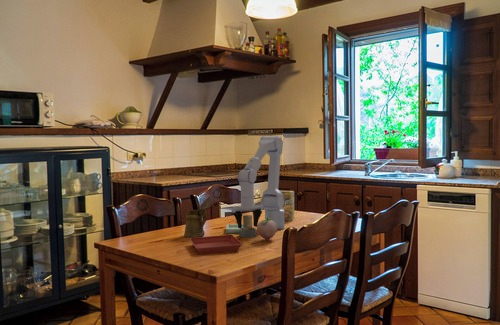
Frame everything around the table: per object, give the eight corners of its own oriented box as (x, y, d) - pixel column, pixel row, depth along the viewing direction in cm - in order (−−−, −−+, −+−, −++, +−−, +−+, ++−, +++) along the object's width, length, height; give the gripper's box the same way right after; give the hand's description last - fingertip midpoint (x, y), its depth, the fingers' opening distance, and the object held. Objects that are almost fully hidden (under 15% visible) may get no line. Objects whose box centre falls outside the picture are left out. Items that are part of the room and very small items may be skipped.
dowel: (252, 234, 205) (251, 214, 204) (252, 236, 201) (252, 216, 200) (243, 234, 205) (243, 215, 204) (243, 236, 201) (242, 216, 200)
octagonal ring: (255, 233, 206) (255, 227, 206) (256, 237, 199) (256, 230, 199) (239, 234, 206) (239, 227, 206) (239, 237, 199) (239, 230, 199)
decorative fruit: (260, 237, 199) (260, 214, 198) (278, 238, 196) (278, 215, 196) (254, 242, 190) (253, 218, 189) (273, 243, 187) (273, 219, 187)
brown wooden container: (205, 239, 196) (204, 198, 195) (180, 236, 202) (179, 196, 201) (216, 235, 203) (215, 195, 202) (192, 232, 210) (191, 194, 209)
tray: (249, 228, 220) (249, 223, 219) (249, 233, 208) (249, 229, 207) (226, 228, 219) (226, 224, 219) (225, 233, 207) (225, 229, 207)
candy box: (276, 220, 240) (275, 191, 239) (278, 218, 244) (278, 190, 243) (292, 221, 237) (292, 191, 236) (294, 219, 241) (294, 190, 240)
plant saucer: (196, 256, 170) (196, 247, 170) (189, 245, 187) (189, 237, 187) (243, 252, 175) (243, 243, 175) (231, 242, 192) (231, 234, 192)
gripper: (257, 194, 208) (258, 224, 209) (228, 196, 202) (229, 227, 203) (265, 196, 202) (265, 226, 203) (235, 198, 196) (235, 230, 196)
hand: (247, 227), depth 202 cm, fingers open, 7 cm apart
